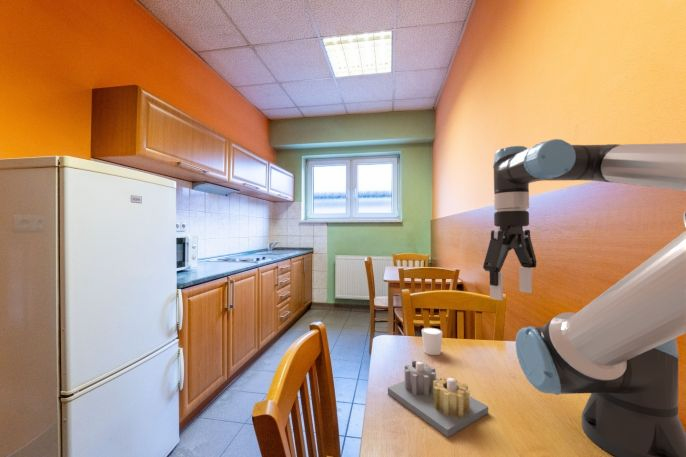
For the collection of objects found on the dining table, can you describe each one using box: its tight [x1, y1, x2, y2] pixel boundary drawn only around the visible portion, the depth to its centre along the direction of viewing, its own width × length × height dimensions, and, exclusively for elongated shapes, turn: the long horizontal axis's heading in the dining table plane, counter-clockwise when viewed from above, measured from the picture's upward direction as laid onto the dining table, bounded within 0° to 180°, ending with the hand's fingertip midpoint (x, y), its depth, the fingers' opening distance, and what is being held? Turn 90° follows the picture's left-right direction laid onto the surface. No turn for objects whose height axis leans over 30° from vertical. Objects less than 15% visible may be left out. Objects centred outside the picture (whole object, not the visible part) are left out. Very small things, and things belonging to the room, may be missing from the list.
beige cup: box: [421, 327, 443, 356], centre depth 97 cm, size 7×7×7 cm
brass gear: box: [433, 377, 471, 418], centre depth 65 cm, size 8×8×4 cm
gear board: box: [387, 360, 489, 438], centre depth 68 cm, size 18×14×8 cm
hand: (511, 295), depth 72 cm, fingers open, 13 cm apart
